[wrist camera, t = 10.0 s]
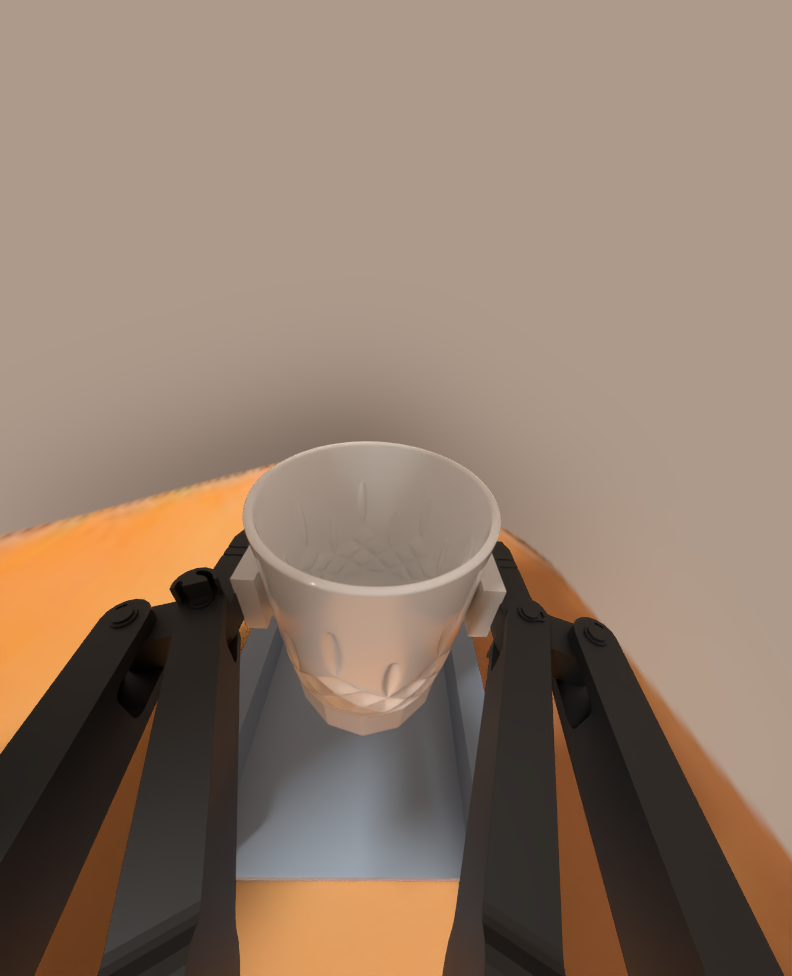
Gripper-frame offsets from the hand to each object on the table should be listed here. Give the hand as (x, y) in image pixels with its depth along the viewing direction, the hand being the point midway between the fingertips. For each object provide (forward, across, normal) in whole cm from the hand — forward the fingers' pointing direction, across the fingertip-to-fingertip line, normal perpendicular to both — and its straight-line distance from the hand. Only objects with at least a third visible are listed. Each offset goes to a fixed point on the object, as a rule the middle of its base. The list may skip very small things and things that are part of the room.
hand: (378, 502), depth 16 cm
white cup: (-5, 0, -6) cm, 8 cm away
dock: (-4, 0, -13) cm, 14 cm away
